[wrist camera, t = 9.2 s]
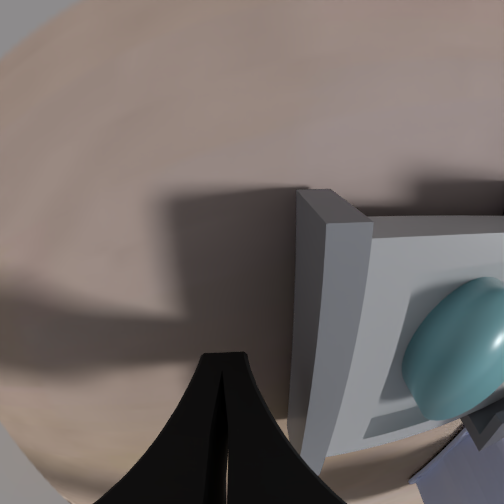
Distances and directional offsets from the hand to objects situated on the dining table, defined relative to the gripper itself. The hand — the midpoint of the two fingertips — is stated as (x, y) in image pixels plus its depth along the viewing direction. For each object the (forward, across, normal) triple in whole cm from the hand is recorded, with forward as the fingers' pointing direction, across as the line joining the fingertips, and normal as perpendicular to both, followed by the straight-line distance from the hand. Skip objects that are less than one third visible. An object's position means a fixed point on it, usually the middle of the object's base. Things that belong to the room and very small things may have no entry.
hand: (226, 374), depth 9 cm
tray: (+2, -9, 0) cm, 9 cm away
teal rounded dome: (0, -9, 0) cm, 9 cm away
